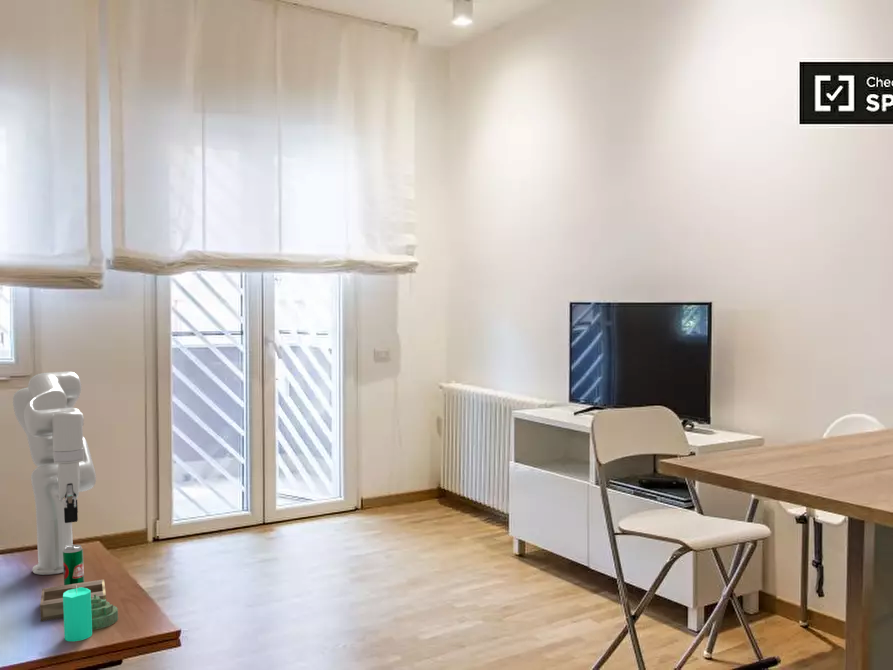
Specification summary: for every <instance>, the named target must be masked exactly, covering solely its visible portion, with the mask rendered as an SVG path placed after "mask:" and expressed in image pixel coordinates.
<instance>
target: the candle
mask: <svg viewBox="0 0 893 670" xmlns="http://www.w3.org/2000/svg"><path fill="white" fill-rule="evenodd" d="M63 611H64V618H63V629H64V630H63V633H64V634H63V635H64V636H63V637H64V640H65V641H66V642H80V641H83V640H87V639H89V638H90V637H92V636H93V630H92V614H91V590H89V589H87V588H83V587H80V588H77V586H76V589H71V590H68V591H66V592H64V593H63Z"/></svg>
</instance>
